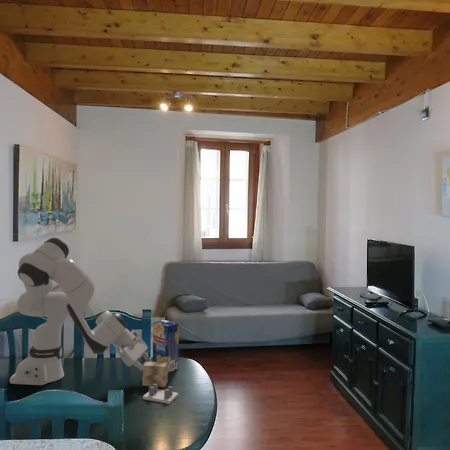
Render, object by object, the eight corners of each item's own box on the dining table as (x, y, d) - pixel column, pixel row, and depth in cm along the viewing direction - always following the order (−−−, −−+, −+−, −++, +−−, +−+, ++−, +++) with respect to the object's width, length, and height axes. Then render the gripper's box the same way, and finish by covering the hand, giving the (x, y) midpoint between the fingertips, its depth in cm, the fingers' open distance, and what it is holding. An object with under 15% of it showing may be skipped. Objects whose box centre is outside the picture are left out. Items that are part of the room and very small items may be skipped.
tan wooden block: (142, 385, 188) (142, 365, 188) (145, 381, 193) (145, 361, 193) (164, 387, 187) (164, 366, 186) (167, 382, 192) (167, 362, 191)
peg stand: (142, 399, 175) (143, 388, 174) (152, 391, 182) (152, 381, 182) (169, 403, 171) (169, 393, 170) (178, 395, 178) (178, 385, 178)
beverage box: (162, 363, 215) (163, 319, 214) (178, 368, 208) (178, 323, 208) (152, 366, 210) (152, 322, 209) (168, 372, 203) (168, 326, 202)
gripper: (121, 344, 179) (144, 368, 178) (137, 331, 200) (157, 353, 199) (111, 354, 180) (133, 378, 179) (128, 340, 200) (148, 362, 199)
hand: (146, 365), depth 189 cm, fingers open, 8 cm apart
